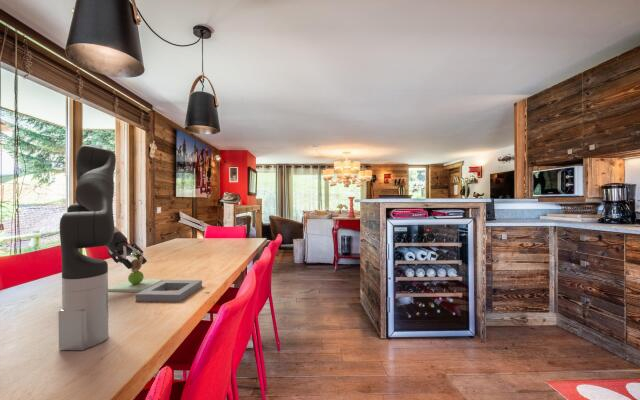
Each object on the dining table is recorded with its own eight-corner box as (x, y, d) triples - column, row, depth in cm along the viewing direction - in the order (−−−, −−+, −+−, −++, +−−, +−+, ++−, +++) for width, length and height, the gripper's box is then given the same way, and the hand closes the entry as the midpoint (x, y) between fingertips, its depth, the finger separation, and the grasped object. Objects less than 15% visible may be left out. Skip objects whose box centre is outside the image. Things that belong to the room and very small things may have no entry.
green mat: (142, 291, 115) (142, 289, 115) (107, 291, 116) (107, 289, 116) (163, 281, 129) (163, 279, 129) (132, 281, 130) (131, 279, 130)
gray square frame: (179, 301, 104) (179, 294, 104) (135, 301, 105) (135, 294, 105) (202, 286, 122) (202, 280, 122) (164, 285, 123) (164, 279, 123)
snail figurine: (148, 281, 125) (148, 253, 125) (137, 286, 119) (136, 256, 119) (136, 281, 126) (136, 253, 126) (124, 285, 120) (124, 256, 120)
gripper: (104, 233, 115) (133, 262, 115) (129, 229, 130) (155, 255, 129) (91, 246, 116) (120, 276, 115) (117, 241, 130) (143, 267, 130)
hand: (138, 265), depth 122 cm, fingers open, 8 cm apart
